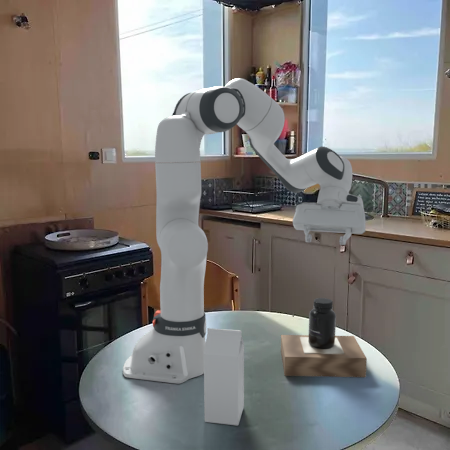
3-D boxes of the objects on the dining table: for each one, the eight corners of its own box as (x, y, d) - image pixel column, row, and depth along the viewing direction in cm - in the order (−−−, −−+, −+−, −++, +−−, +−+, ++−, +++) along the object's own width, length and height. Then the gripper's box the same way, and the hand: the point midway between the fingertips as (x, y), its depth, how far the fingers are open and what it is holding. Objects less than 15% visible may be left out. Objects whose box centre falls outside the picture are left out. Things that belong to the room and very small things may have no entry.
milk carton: (238, 426, 92) (238, 337, 90) (204, 422, 94) (203, 334, 91) (244, 407, 99) (244, 324, 96) (212, 404, 101) (211, 322, 98)
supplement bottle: (308, 348, 117) (309, 303, 115) (308, 338, 123) (309, 295, 121) (335, 350, 115) (336, 305, 114) (334, 340, 122) (335, 297, 120)
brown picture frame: (284, 375, 114) (284, 355, 113) (280, 351, 127) (281, 333, 127) (365, 377, 112) (366, 357, 112) (353, 353, 126) (353, 334, 126)
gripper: (295, 195, 134) (286, 233, 127) (367, 198, 127) (362, 238, 119) (299, 209, 139) (289, 246, 132) (368, 212, 131) (363, 251, 124)
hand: (324, 242), depth 125 cm, fingers open, 8 cm apart
